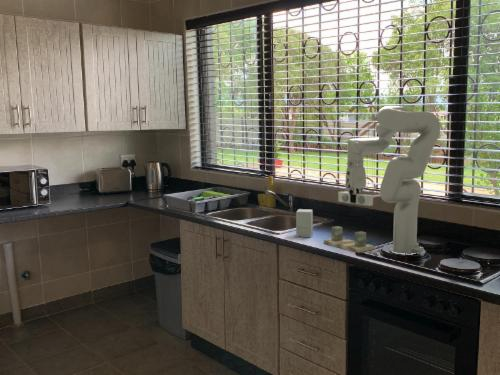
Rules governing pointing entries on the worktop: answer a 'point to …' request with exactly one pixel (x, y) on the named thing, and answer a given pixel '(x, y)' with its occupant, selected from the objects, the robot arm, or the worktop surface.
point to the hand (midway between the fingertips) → (355, 202)
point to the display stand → (349, 241)
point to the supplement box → (304, 222)
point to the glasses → (357, 198)
